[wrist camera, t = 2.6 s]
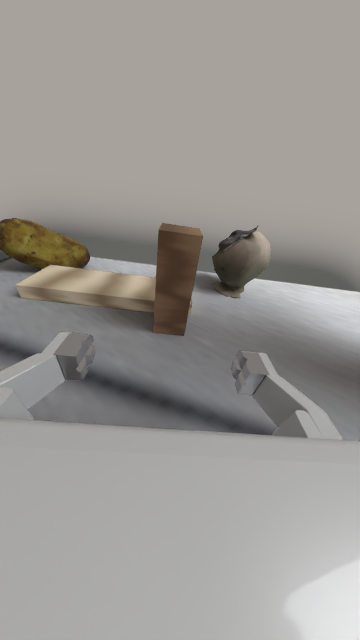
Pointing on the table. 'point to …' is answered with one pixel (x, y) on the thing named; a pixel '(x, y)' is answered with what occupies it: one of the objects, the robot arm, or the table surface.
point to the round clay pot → (240, 261)
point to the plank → (91, 288)
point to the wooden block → (175, 276)
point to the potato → (40, 245)
